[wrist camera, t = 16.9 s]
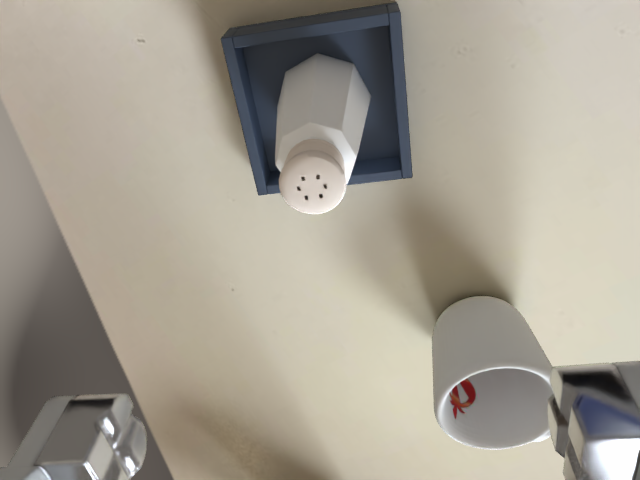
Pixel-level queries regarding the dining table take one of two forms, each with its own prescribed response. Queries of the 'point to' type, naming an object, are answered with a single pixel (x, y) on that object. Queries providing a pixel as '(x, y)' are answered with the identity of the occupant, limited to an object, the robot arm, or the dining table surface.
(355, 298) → the dining table surface
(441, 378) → the cup
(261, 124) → the tray
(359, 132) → the pepper shaker
